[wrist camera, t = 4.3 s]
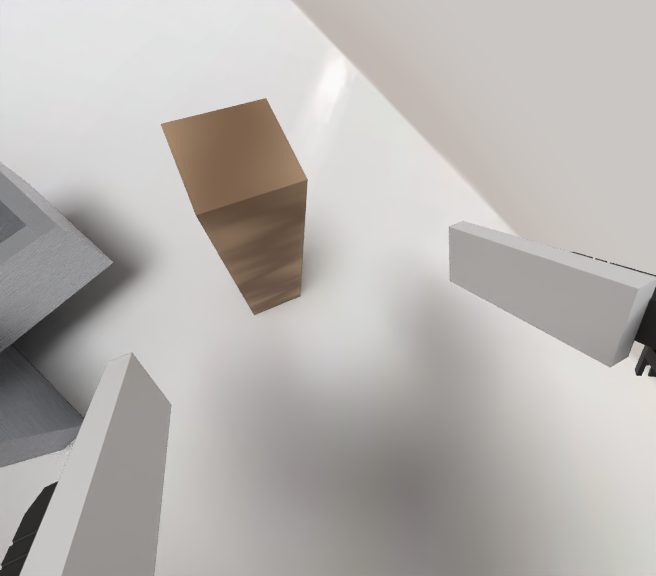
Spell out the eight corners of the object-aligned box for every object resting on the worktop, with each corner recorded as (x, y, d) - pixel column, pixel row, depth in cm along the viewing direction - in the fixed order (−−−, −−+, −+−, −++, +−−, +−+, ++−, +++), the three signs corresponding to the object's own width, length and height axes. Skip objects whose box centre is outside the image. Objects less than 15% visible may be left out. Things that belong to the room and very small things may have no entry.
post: (254, 315, 24) (195, 215, 10) (236, 272, 25) (160, 123, 11) (300, 296, 25) (307, 179, 11) (281, 255, 26) (266, 98, 12)
